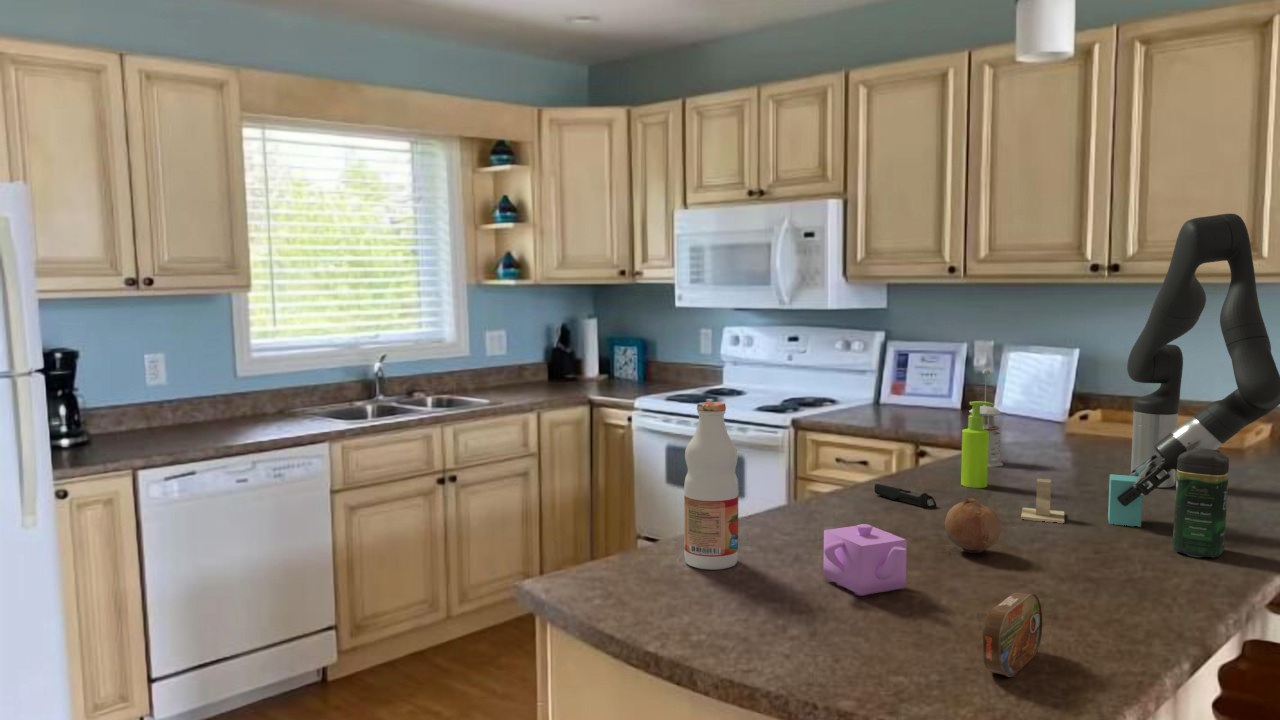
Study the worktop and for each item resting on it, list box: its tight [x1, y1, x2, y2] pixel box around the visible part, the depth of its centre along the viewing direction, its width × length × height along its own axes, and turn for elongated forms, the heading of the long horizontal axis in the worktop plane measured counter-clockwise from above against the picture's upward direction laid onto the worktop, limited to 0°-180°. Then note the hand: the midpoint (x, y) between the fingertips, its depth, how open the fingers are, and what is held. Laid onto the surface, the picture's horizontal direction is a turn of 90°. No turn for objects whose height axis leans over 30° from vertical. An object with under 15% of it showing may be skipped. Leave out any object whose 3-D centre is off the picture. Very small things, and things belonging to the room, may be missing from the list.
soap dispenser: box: [960, 400, 995, 489], centre depth 219 cm, size 6×7×20 cm
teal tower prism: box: [1107, 473, 1143, 528], centre depth 186 cm, size 6×6×9 cm
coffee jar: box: [1172, 448, 1230, 558], centre depth 165 cm, size 10×8×19 cm
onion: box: [944, 497, 1002, 554], centre depth 166 cm, size 10×9×10 cm
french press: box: [968, 368, 1004, 468], centre depth 245 cm, size 10×12×25 cm
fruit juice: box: [683, 401, 739, 571], centre depth 160 cm, size 9×9×28 cm
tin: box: [981, 591, 1043, 678], centre depth 119 cm, size 15×3×8 cm, turn 138°
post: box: [1020, 478, 1065, 524], centre depth 190 cm, size 8×8×8 cm
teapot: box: [822, 523, 908, 597], centre depth 147 cm, size 18×14×10 cm
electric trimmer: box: [874, 483, 937, 510], centre depth 205 cm, size 4×16×3 cm, turn 34°
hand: (1119, 497), depth 186 cm, fingers open, 8 cm apart
